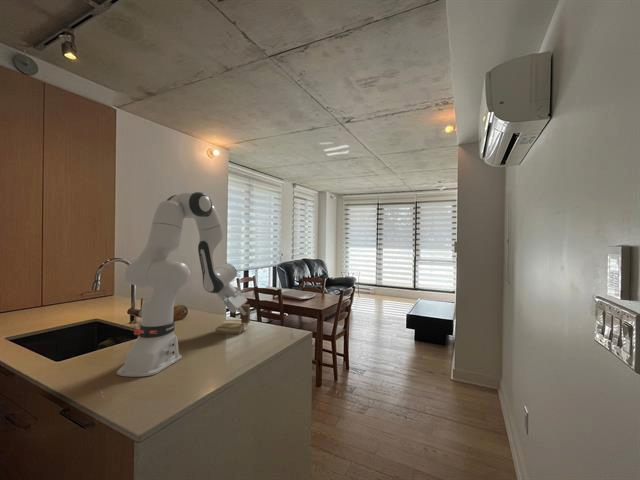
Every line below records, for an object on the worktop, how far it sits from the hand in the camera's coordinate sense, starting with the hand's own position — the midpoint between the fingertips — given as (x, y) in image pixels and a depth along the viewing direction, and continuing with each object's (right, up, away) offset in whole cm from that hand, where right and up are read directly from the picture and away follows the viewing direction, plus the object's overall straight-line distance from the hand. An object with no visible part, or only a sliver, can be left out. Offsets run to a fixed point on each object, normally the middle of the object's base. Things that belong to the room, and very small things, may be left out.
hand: (247, 313), depth 153 cm
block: (-1, -5, 0) cm, 5 cm away
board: (-8, -8, 0) cm, 11 cm away
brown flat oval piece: (-46, -8, +14) cm, 48 cm away
